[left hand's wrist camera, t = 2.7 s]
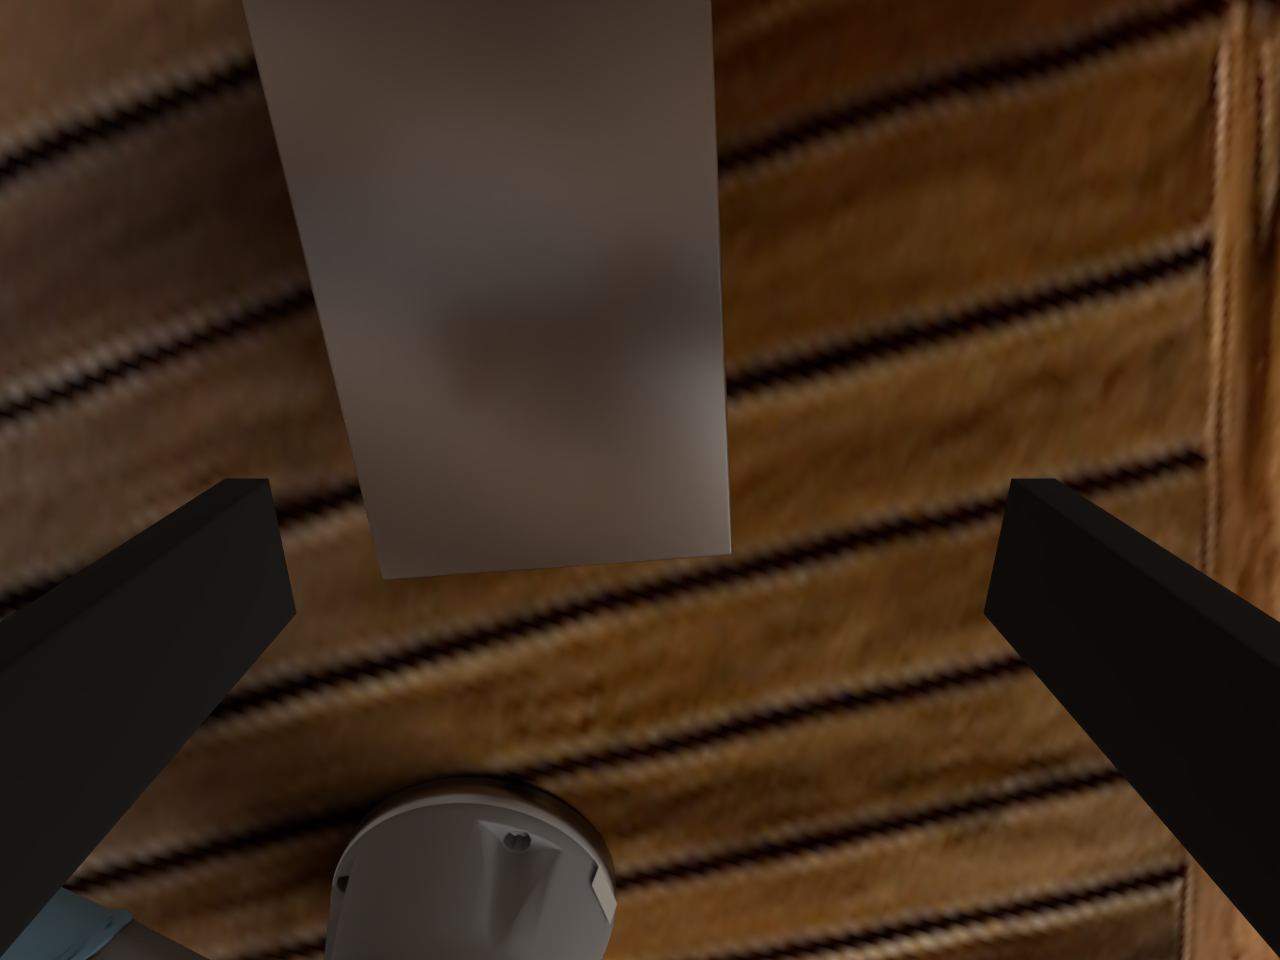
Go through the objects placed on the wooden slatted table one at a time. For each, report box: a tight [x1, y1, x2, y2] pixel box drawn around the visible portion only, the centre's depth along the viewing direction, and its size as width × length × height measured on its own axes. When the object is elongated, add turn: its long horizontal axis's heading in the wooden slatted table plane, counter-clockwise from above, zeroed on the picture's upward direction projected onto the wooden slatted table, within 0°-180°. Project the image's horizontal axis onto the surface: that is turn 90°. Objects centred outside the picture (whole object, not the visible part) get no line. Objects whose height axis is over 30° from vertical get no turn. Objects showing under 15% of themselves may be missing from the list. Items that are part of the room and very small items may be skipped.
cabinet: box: [241, 0, 732, 580], centre depth 22 cm, size 18×11×10 cm, turn 5°
